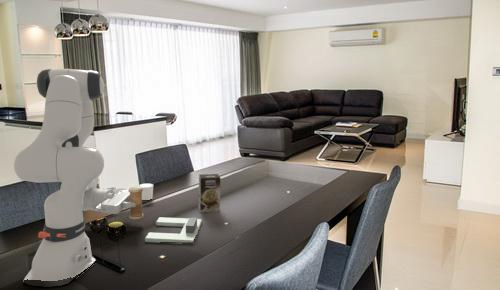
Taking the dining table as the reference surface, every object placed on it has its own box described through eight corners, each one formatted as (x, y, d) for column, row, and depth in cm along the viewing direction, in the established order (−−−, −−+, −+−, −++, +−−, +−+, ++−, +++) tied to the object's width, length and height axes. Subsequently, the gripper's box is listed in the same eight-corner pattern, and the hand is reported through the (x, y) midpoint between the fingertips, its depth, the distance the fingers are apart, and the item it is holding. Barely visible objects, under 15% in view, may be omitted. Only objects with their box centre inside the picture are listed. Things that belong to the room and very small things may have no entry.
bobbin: (141, 219, 158) (140, 191, 156) (127, 219, 159) (126, 190, 156) (145, 214, 164) (144, 187, 161) (132, 214, 164) (131, 186, 162)
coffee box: (200, 212, 177) (200, 178, 173) (198, 207, 183) (198, 174, 179) (220, 211, 179) (220, 177, 176) (217, 206, 185) (218, 173, 182)
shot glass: (149, 202, 188) (149, 188, 186) (136, 200, 189) (136, 186, 188) (156, 197, 194) (155, 183, 193) (143, 196, 196) (142, 182, 194)
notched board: (193, 244, 147) (193, 232, 146) (145, 241, 147) (145, 230, 146) (201, 222, 166) (201, 212, 165) (159, 220, 167) (159, 210, 166)
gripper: (93, 201, 149) (129, 203, 149) (113, 185, 170) (145, 186, 169) (94, 217, 151) (129, 218, 150) (114, 199, 171) (145, 200, 170)
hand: (138, 201), depth 160 cm, fingers closed on bobbin, 5 cm apart
